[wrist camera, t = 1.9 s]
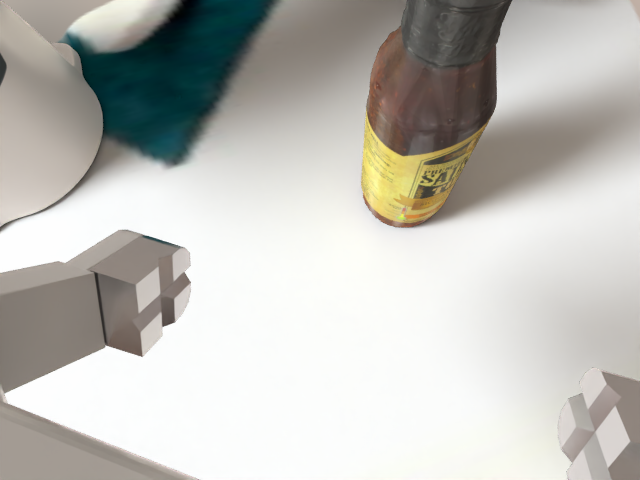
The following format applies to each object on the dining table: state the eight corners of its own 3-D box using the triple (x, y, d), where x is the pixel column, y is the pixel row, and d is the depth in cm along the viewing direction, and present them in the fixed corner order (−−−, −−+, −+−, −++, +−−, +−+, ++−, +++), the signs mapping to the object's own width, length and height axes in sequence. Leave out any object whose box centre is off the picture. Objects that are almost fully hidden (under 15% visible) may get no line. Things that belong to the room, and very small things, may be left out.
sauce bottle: (413, 247, 31) (506, 55, 12) (344, 200, 32) (326, -39, 13) (463, 180, 32) (622, -96, 13) (394, 137, 33) (444, -166, 14)
